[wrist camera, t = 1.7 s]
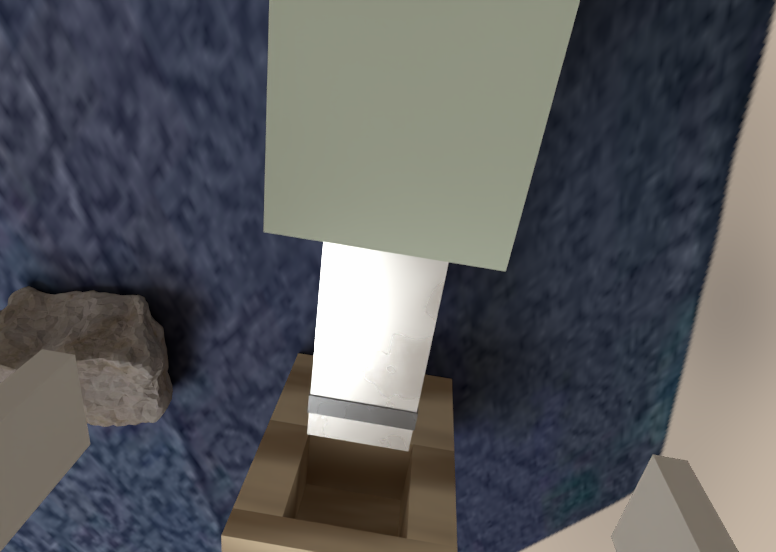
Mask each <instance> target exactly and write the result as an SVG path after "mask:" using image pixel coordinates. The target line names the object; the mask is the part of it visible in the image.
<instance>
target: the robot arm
mask: <svg viewBox="0 0 776 552" xmlns="http://www.w3.org/2000/svg"><path fill="white" fill-rule="evenodd" d="M89 445H90V439H89V434H88V428H87V422H86V416H85V410H84V404H83V399H82V393H81V387H80V381H79V375H78V369H77V363H76V358H75V355H73V354H67V353H61V352H56V351H50V350H44V349H42V350H41V351H39V352H38V353H37V354H36V355H34V356H33V357H32V358H31V359H30V360H28V361H27V362H26V363H25V364H23V365H22V366H21V367H20V368H18V369H17V370H16V371H15V372H14V373H12V374H11V375H10V376H9V377H7V378H6V379H5V380H4V381H2V382H1V383H0V551H1V550H2V549H3V548H4V547H5V545H6V544H7V543H8V542H9V541H10V539H11V538H12V537H13V536H14V535H15V533H16V532H17V531H18V530H19V529H20V527H21V526H22V525H23V524H24V523H25V521H26V520H27V519H28V518H29V517H30V516H31V514H32V513H33V512H34V511H35V510H36V508H37V507H38V506H39V505H40V504H41V502H42V501H43V500H44V499H45V498H46V496H47V495H48V494H49V493H50V492H51V490H52V489H53V488H54V487H55V486H56V485H57V483H58V482H59V481H60V480H61V479H62V477H63V476H64V475H65V474H66V473H67V471H68V470H69V469H70V468H71V467H72V465H73V464H74V463H75V462H76V461H77V459H78V458H79V457H80V456H81V455H82V453H83V452H84V451H85V450H86V449H87V448H88V446H89ZM611 537H612V540H613V543H614V546H615V549H616V552H739V551H738V550H737V548H736V546H735V544H734V543H733V541H732V539H731V537H730V536H729V534H728V532H727V530H726V528H725V527H724V525H723V523H722V521H721V519H720V518H719V516H718V514H717V512H716V511H715V509H714V507H713V505H712V503H711V502H710V500H709V498H708V496H707V495H706V493H705V491H704V489H703V487H702V486H701V484H700V482H699V480H698V479H697V477H696V475H695V473H694V472H693V470H692V468H691V466H690V465H689V463H688V461H686V460H680V459H675V458H669V457H664V456H658V455H652V457H651V459H650V461H649V463H648V465H647V467H646V469H645V471H644V473H643V475H642V477H641V479H640V481H639V483H638V485H637V486H636V488H635V490H634V492H633V494H632V497H631V499H630V500H629V502H628V504H627V506H626V508H625V510H624V512H623V514H622V516H621V518H620V520H619V522H618V524H617V526H616V528H615V530H614V532H613V534H612V536H611Z"/></svg>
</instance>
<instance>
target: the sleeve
mask: <svg viewBox="0 0 776 552" xmlns="http://www.w3.org/2000/svg"><path fill="white" fill-rule="evenodd" d="M579 2H580V0H269V37H268V77H267V117H266V157H265V197H264V232H267V233H273V234H279V235H285V236H291V237H298V238H304V239H310V240H316V241H322V242H328V243H334V244H340V245H346V246H353V247H359V248H365V249H371V250H377V251H383V252H389V253H395V254H402V255H408V256H414V257H420V258H426V259H432V260H438V261H444V262H451V263H457V264H463V265H469V266H475V267H481V268H487V269H493V270H499V271H506V269H507V265H508V262H509V258H510V254H511V251H512V247H513V243H514V240H515V236H516V232H517V229H518V225H519V221H520V218H521V214H522V210H523V207H524V203H525V200H526V196H527V192H528V189H529V185H530V181H531V178H532V174H533V170H534V167H535V163H536V159H537V156H538V152H539V148H540V145H541V141H542V137H543V134H544V130H545V126H546V123H547V119H548V116H549V112H550V108H551V105H552V101H553V97H554V94H555V90H556V86H557V83H558V79H559V75H560V72H561V68H562V64H563V61H564V57H565V53H566V50H567V46H568V42H569V39H570V35H571V32H572V28H573V24H574V21H575V17H576V13H577V10H578V6H579Z"/></svg>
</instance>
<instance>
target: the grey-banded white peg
mask: <svg viewBox="0 0 776 552" xmlns="http://www.w3.org/2000/svg"><path fill="white" fill-rule="evenodd" d="M448 263H449V262H444V261H438V260H432V259H426V258H420V257H414V256H408V255H402V254H395V253H389V252H383V251H377V250H371V249H365V248H359V247H353V246H346V245H340V244H334V243H328V242H323V252H322V264H321V276H320V288H319V300H318V311H317V323H316V335H315V347H314V359H313V371H312V382H311V390H310V393H309V398H308V410H307V413H309V418H308V430H307V434H309V435H315V436H321V437H327V438H333V439H338V440H344V441H350V442H356V443H362V444H368V445H373V446H379V447H385V448H391V449H397V450H403V451H409V446H410V441H411V437H412V432H413V431H414V430H415V425H416V421H417V416H418V405H419V399H420V395H421V390H422V385H423V380H424V376H425V371H426V366H427V362H428V357H429V352H430V348H431V343H432V338H433V334H434V329H435V324H436V320H437V315H438V310H439V306H440V301H441V296H442V291H443V287H444V282H445V277H446V273H447V268H448Z"/></svg>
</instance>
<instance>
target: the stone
mask: <svg viewBox="0 0 776 552" xmlns="http://www.w3.org/2000/svg"><path fill="white" fill-rule="evenodd" d="M42 349H44V350H50V351H56V352H61V353H67V354H73V355H75V358H76V363H77V369H78V375H79V381H80V387H81V393H82V399H83V404H84V410H85V416H86V422H87V423H89V424H91V425H100V426H103V427H108V426H111V425H115V426H125V425H128V424H131V425H137V424H139V423H141V422H145V423H146V422H151V423H154V422H156V421H157V420H159V419H160V417H161V416H162V415H163V413H164V412H165V411H166V409H167V407H168V406H169V403H170V401H171V399H172V393H173V389H172V384H171V381H170V377H169V374H168V372H167V370H168V355H167V347H166V344H165V338H164V330H163V327H162V326H161V325H160V324H159V323H158V322H157V321H155V320H154V318H153V317H152V316H151V314H150V311H149V306H148V303H147V302H146V301H145V297H143V296H140V295H117V294H111V293H106V292H102V293H99V292H97V291H95V290H92V291H87V292H81V291H72V292H67V293H59V294H56V295H54V294H47V293H44V292H40V291H38V290H36V289H34V288H32V287H29V286H28V287H24V288H22V289H20V290H18V291H16V292H14V293H12V294H11V296H10V297H9V299H8V305H7V307H6V308H4V309H3V310H1V311H0V383H1V382H2V381H4V380H5V379H6V378H7V377H9V376H10V375H11V374H12V373H14V372H15V371H16V370H17V369H18V368H20V367H21V366H22V365H23V364H25V363H26V362H27V361H28V360H30V359H31V358H32V357H33V356H34V355H36V354H37V353H38V352H39V351H41V350H42Z"/></svg>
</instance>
